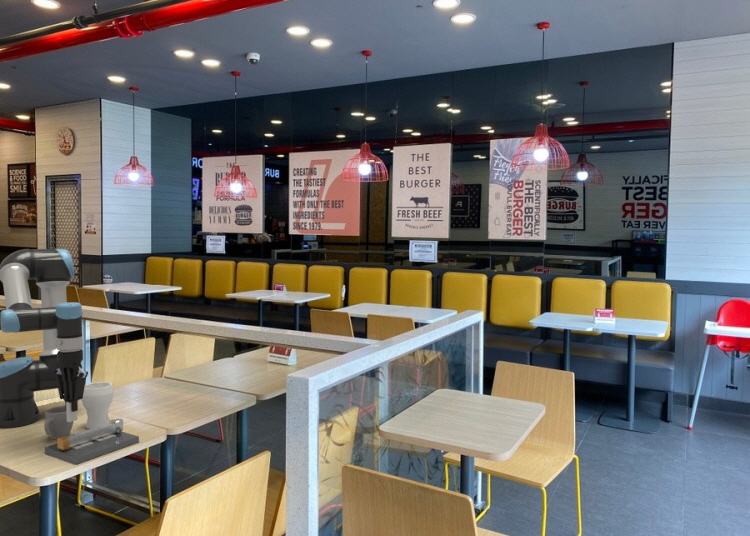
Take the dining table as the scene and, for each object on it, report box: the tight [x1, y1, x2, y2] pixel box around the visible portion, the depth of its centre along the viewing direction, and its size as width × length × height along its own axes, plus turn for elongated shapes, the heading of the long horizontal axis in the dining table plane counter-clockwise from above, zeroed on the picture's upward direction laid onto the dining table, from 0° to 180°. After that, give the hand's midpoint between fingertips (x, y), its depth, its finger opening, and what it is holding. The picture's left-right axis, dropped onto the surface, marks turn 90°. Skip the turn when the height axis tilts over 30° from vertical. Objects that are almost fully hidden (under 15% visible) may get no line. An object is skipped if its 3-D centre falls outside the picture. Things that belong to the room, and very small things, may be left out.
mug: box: [43, 405, 75, 440], centre depth 194 cm, size 12×9×10 cm
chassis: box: [44, 431, 140, 465], centre depth 186 cm, size 17×22×2 cm
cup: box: [80, 381, 114, 430], centre depth 207 cm, size 11×11×15 cm
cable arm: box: [56, 418, 124, 450], centre depth 187 cm, size 22×4×4 cm, turn 150°
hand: (71, 420), depth 187 cm, fingers closed
